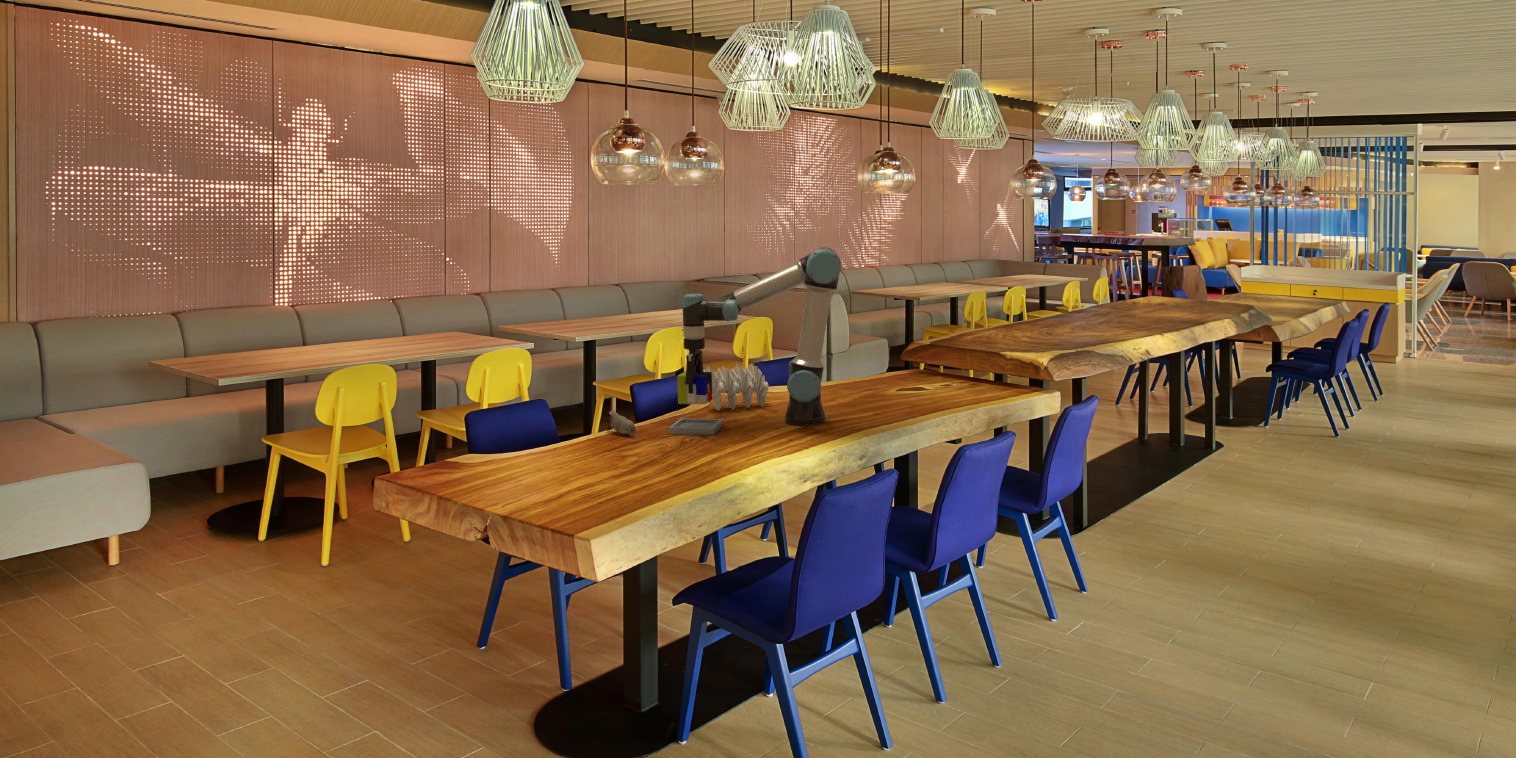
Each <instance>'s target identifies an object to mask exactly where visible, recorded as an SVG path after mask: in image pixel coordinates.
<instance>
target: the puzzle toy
mask: <svg viewBox="0 0 1516 758" xmlns="http://www.w3.org/2000/svg"><path fill="white" fill-rule="evenodd" d="M676 378H677V405H707V404H708V403H710V401H713V393H712V372H696V373H695V383H694V384H695V394H696V402H688V392H687V384H685V381H686V371H684V372H682V373H680V374H678V375H677V377H676Z"/></svg>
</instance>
